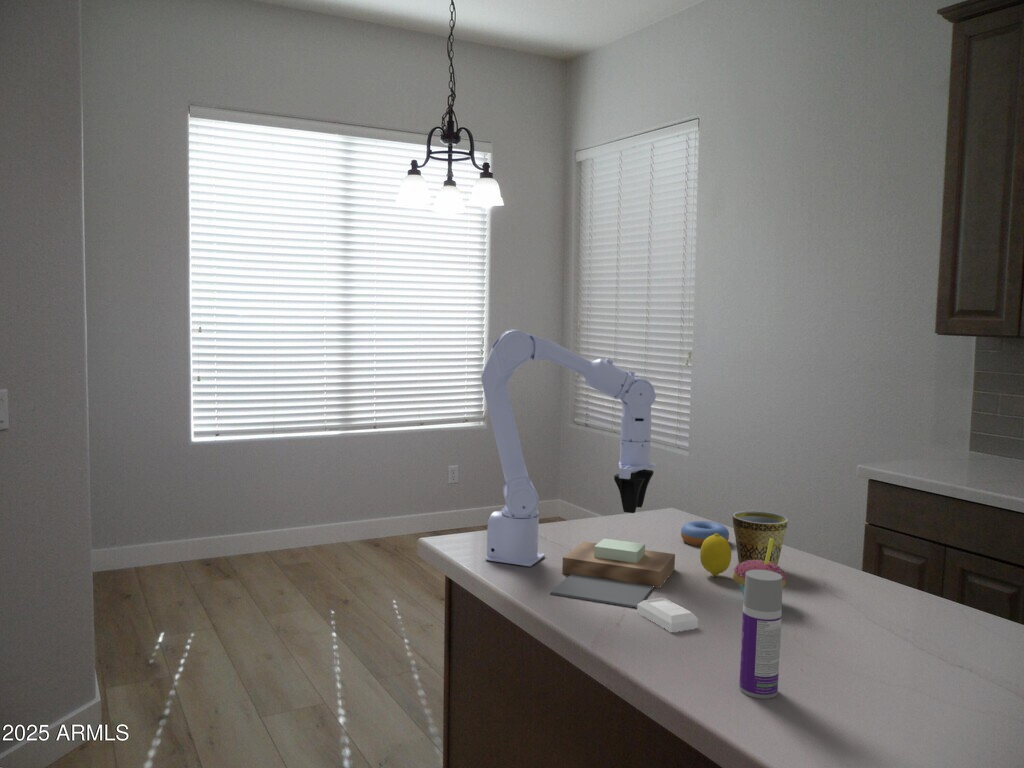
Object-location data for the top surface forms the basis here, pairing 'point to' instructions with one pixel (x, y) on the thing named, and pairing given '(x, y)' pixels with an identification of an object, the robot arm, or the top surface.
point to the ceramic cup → (758, 534)
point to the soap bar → (667, 614)
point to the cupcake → (757, 568)
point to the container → (761, 634)
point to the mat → (602, 590)
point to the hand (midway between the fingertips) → (632, 509)
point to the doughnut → (702, 531)
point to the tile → (619, 550)
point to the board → (619, 566)
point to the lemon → (715, 554)
